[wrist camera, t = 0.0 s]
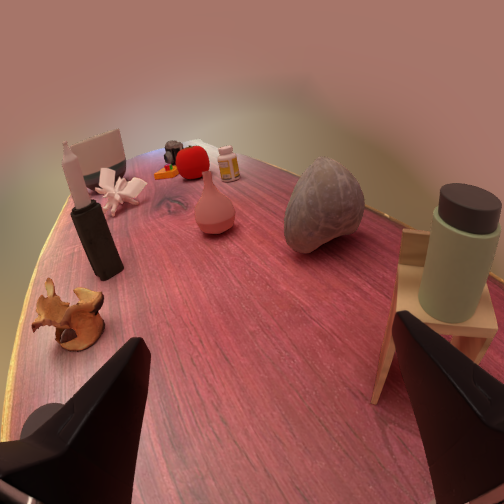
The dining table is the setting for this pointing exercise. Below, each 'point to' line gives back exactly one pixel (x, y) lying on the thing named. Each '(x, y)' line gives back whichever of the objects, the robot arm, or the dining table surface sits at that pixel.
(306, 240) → the decorative stone
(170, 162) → the camera
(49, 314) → the bone
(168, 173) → the orange square tile
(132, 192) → the figurine
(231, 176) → the supplement bottle
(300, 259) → the dining table surface
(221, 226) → the pink bud vase
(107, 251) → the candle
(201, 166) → the tomato
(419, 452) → the dining table surface
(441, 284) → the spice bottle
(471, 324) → the miniature wooden chair
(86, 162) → the planter
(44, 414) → the trivet
